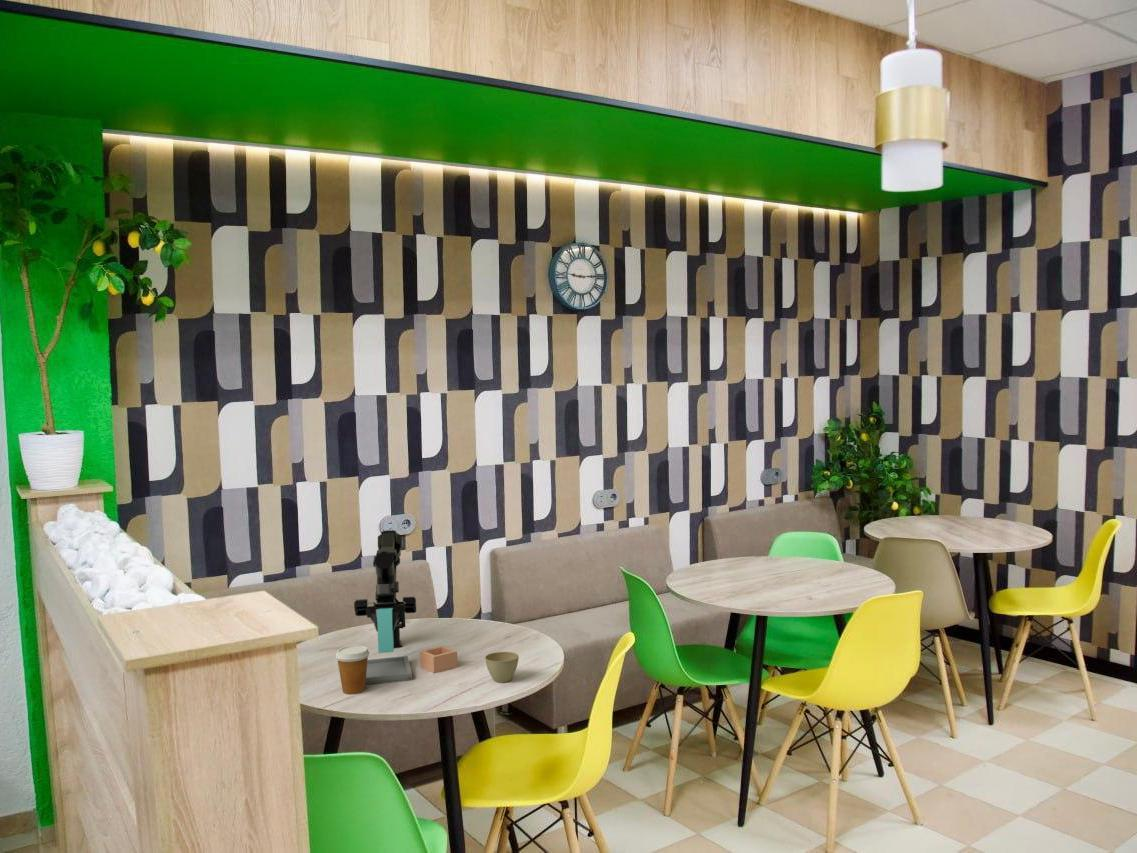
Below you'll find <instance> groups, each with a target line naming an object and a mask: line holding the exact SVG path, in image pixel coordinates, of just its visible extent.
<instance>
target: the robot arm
mask: <svg viewBox="0 0 1137 853" xmlns="http://www.w3.org/2000/svg"><path fill="white" fill-rule="evenodd" d="M403 542H404V541H403V536H402V534H400V533H399V532H397V530H395V529H394V530H393V529H388V530H387V529H386V530H383V531H381V534H380V535H378V536H377V548H378V549H377V550H376V554H375V555H374V556H373V563H372V565H373V567H374V568H375V575H376V585H375V588H376V590H375V601H376V602H374V601H368V599H367V598H364V599H363V598H361V599H355V601H354V602H353V603H354V605H353V608H354V613H355V614H354V615H355V616H356V617H364V616H366V617H367V618H368V619H369V618H370V619H371V621H372V623H373V625H374V628H375V631H376V632H377V633H378V624H377V611H378V609H385V608H393V637H394V649H396V648H402V647H403V646H402V645H403V644H402V641H401V633H400V632H401V631H400V630H401V629H404V628H406V614H415V613H416V612H417V599H416V597H415V596H413V595H412V596H403V597H402V601H399V600H398V599H397V593H399V592H400V590H399V588H400V585H399V584H400V583H399V581H397V567H398V566H399V565H400V564H401V555H402V554H401V553H402V550H403V547H404V543H403Z"/></svg>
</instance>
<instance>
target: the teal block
mask: <svg viewBox="0 0 1137 853" xmlns="http://www.w3.org/2000/svg"><path fill="white" fill-rule="evenodd" d="M376 615H377V624H378V632H377V647H378V654H384V653H387V654H388V653H394V651H395V650H394V649H395V648H394V637H393V608H385V609H378V610H376Z"/></svg>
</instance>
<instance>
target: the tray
mask: <svg viewBox="0 0 1137 853" xmlns="http://www.w3.org/2000/svg"><path fill="white" fill-rule="evenodd" d="M412 680H413V673H412V668H411V664H410V661H409V657H408V655H405V656H404V655H402V656H393V657H383V658H381V657H380V658H370V659H368V660H367V671H366V683H365V686H369V685H376V684H377V685H378V684H388V683H397V682H408V681H409V682H410V681H412Z"/></svg>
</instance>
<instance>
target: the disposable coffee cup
mask: <svg viewBox="0 0 1137 853" xmlns="http://www.w3.org/2000/svg"><path fill="white" fill-rule="evenodd" d="M369 655H370V651H369V649H368V647H367V646H366V645H365V646H364V645H347V646H342V647H340V648H338V649H337V651H336V654H335V658H336V660H337V665H338V672H339V676H340V682H341V689H342V693H343V694H346V695H357V694H360V693H363V692H365V690H366V685H365V683H366V671H367V660H369V659H368V658H369Z"/></svg>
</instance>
